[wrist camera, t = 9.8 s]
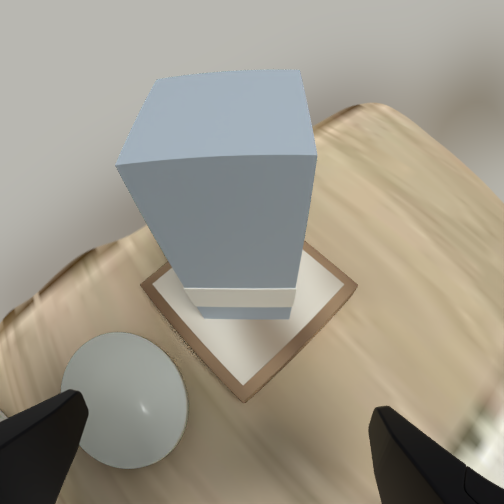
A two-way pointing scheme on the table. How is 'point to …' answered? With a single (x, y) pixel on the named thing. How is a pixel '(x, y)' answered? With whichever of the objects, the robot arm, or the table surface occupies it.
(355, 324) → the table surface
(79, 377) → the saucer
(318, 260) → the tray
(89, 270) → the table surface
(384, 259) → the table surface
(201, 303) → the carton
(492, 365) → the table surface
